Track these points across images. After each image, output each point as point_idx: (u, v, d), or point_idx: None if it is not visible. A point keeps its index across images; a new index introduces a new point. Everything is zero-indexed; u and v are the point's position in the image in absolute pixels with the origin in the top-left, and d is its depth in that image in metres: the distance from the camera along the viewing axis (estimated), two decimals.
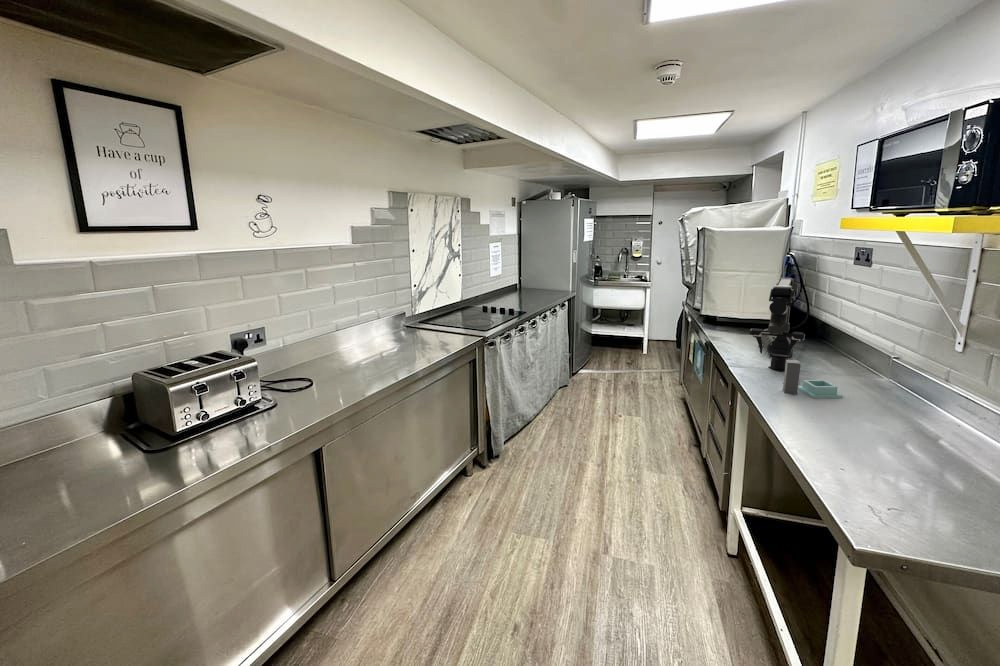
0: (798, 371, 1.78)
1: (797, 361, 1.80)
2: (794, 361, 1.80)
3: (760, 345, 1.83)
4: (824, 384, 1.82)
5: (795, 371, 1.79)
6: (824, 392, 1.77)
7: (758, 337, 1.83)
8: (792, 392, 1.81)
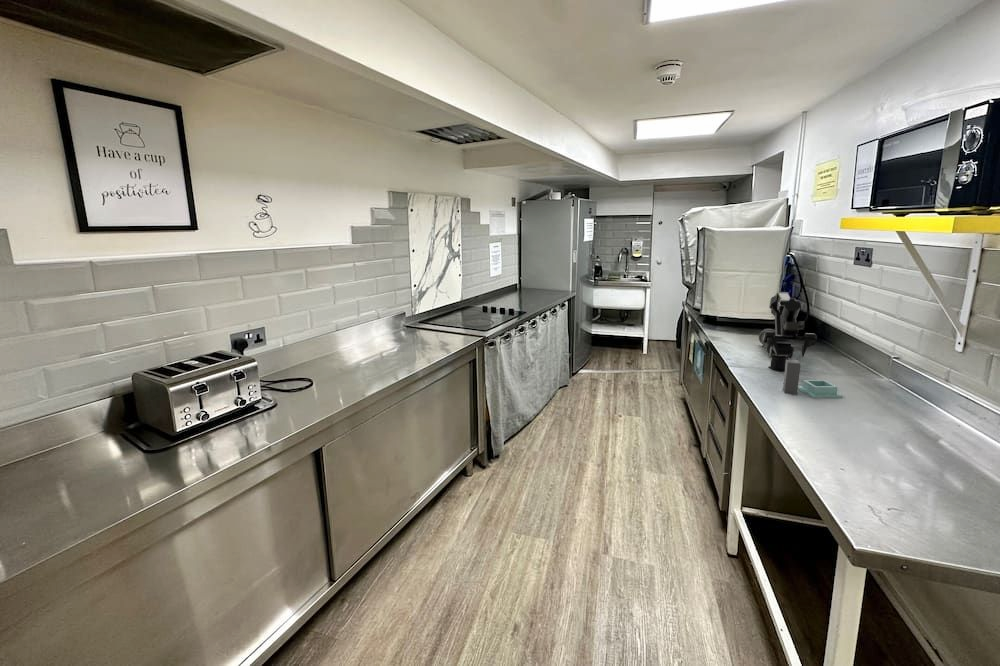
0: (798, 371, 1.78)
1: (797, 361, 1.80)
2: (794, 361, 1.80)
3: (776, 346, 1.90)
4: (824, 384, 1.82)
5: (794, 371, 1.79)
6: (824, 392, 1.77)
7: (773, 338, 1.91)
8: (792, 392, 1.81)
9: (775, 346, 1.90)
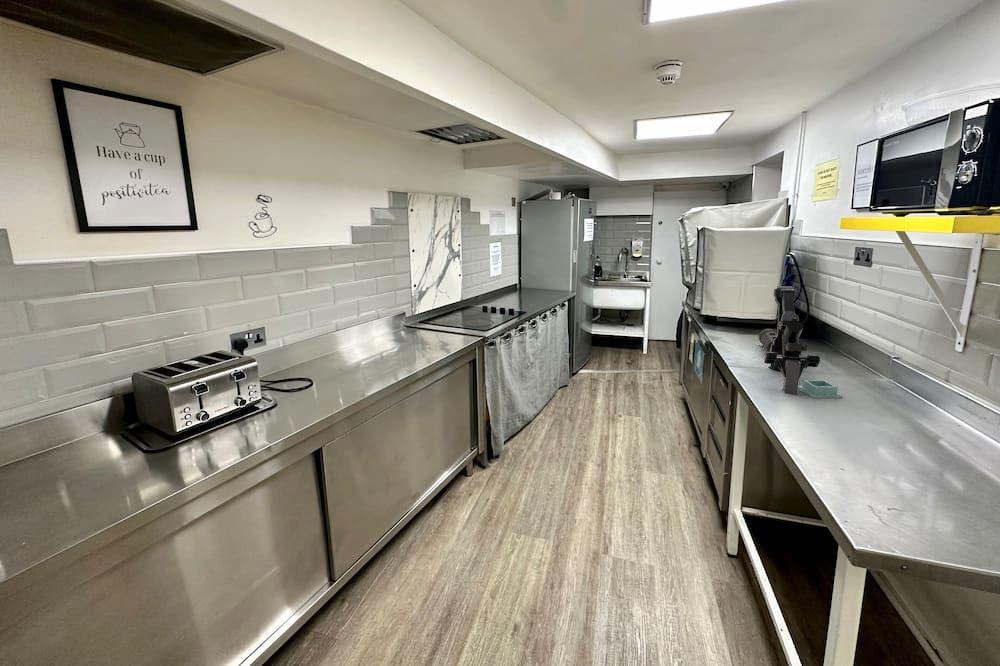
0: (798, 371, 1.78)
1: (797, 361, 1.80)
2: (794, 361, 1.80)
3: (784, 368, 1.82)
4: (824, 384, 1.82)
5: (794, 371, 1.79)
6: (824, 392, 1.77)
7: (781, 359, 1.83)
8: (792, 392, 1.81)
9: (783, 368, 1.82)
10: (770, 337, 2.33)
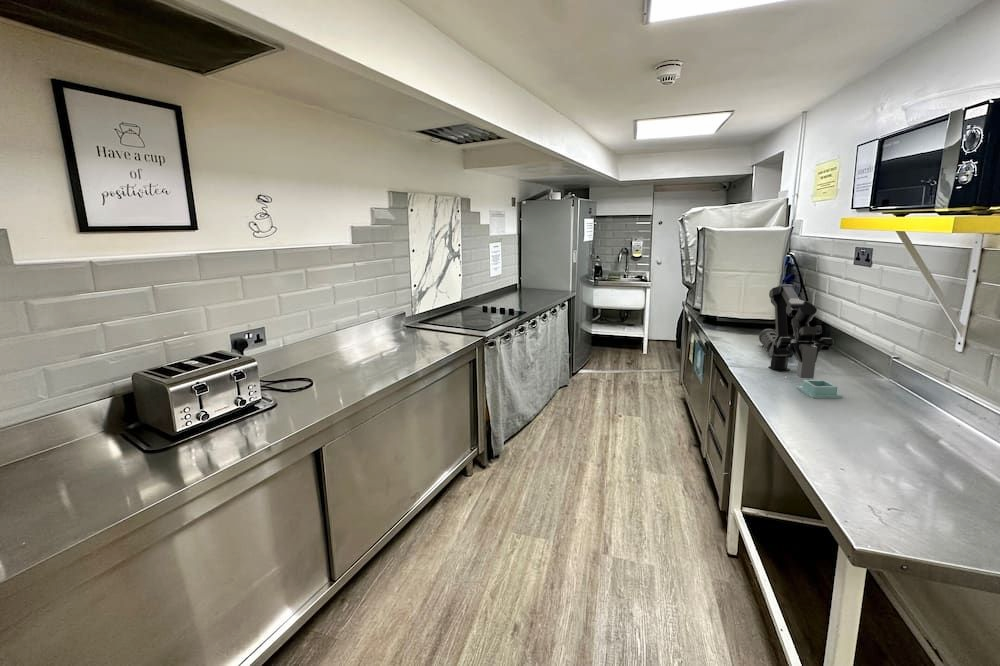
0: (814, 355, 1.76)
1: (812, 345, 1.77)
2: (809, 345, 1.77)
3: (799, 352, 1.79)
4: (824, 384, 1.82)
5: (811, 355, 1.76)
6: (824, 392, 1.77)
7: (796, 344, 1.80)
8: (808, 376, 1.78)
9: (798, 353, 1.79)
10: (770, 337, 2.33)
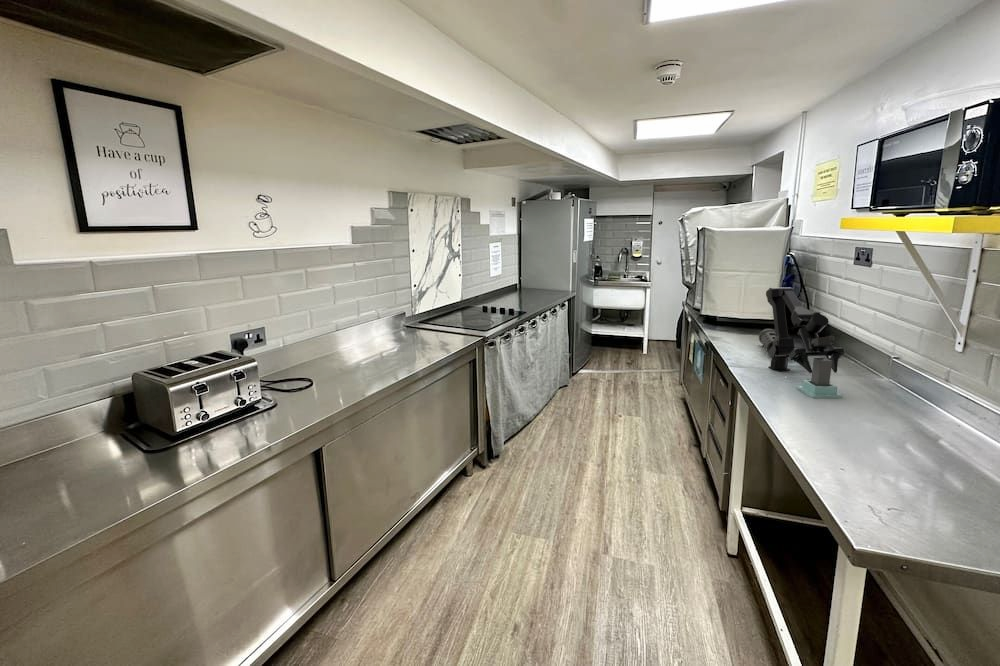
0: (830, 368, 1.76)
1: (826, 358, 1.78)
2: (823, 359, 1.78)
3: (808, 363, 1.79)
4: None
5: (826, 369, 1.76)
6: (824, 392, 1.77)
7: (805, 355, 1.79)
8: None
9: (808, 364, 1.79)
10: (770, 337, 2.33)
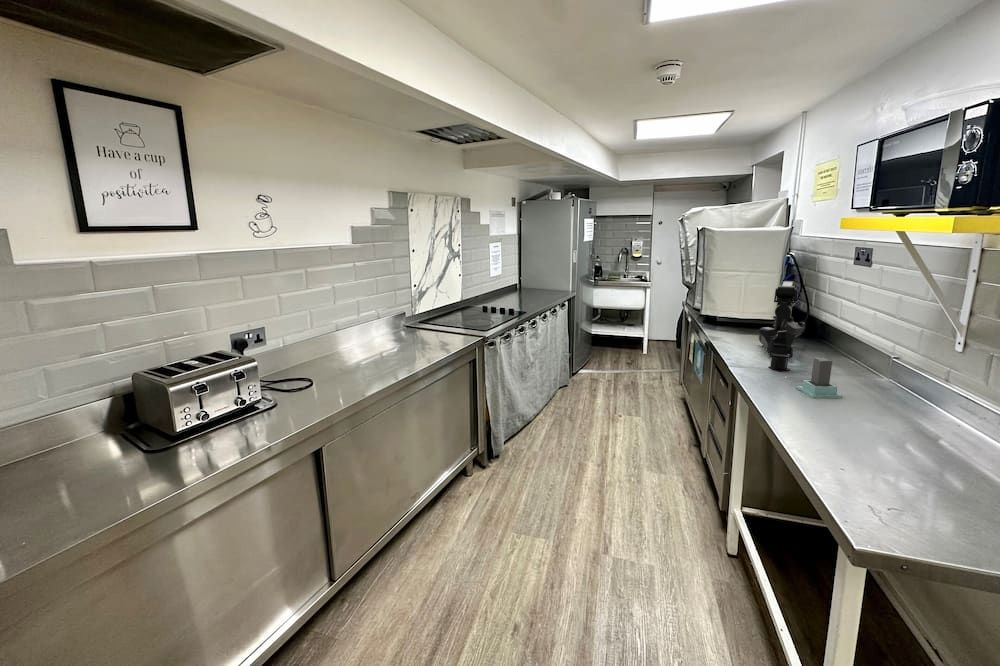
0: (830, 369, 1.76)
1: (826, 358, 1.78)
2: (823, 359, 1.78)
3: (773, 343, 1.95)
4: None
5: (826, 369, 1.76)
6: (824, 392, 1.77)
7: (774, 337, 1.93)
8: None
9: (772, 343, 1.95)
10: None
